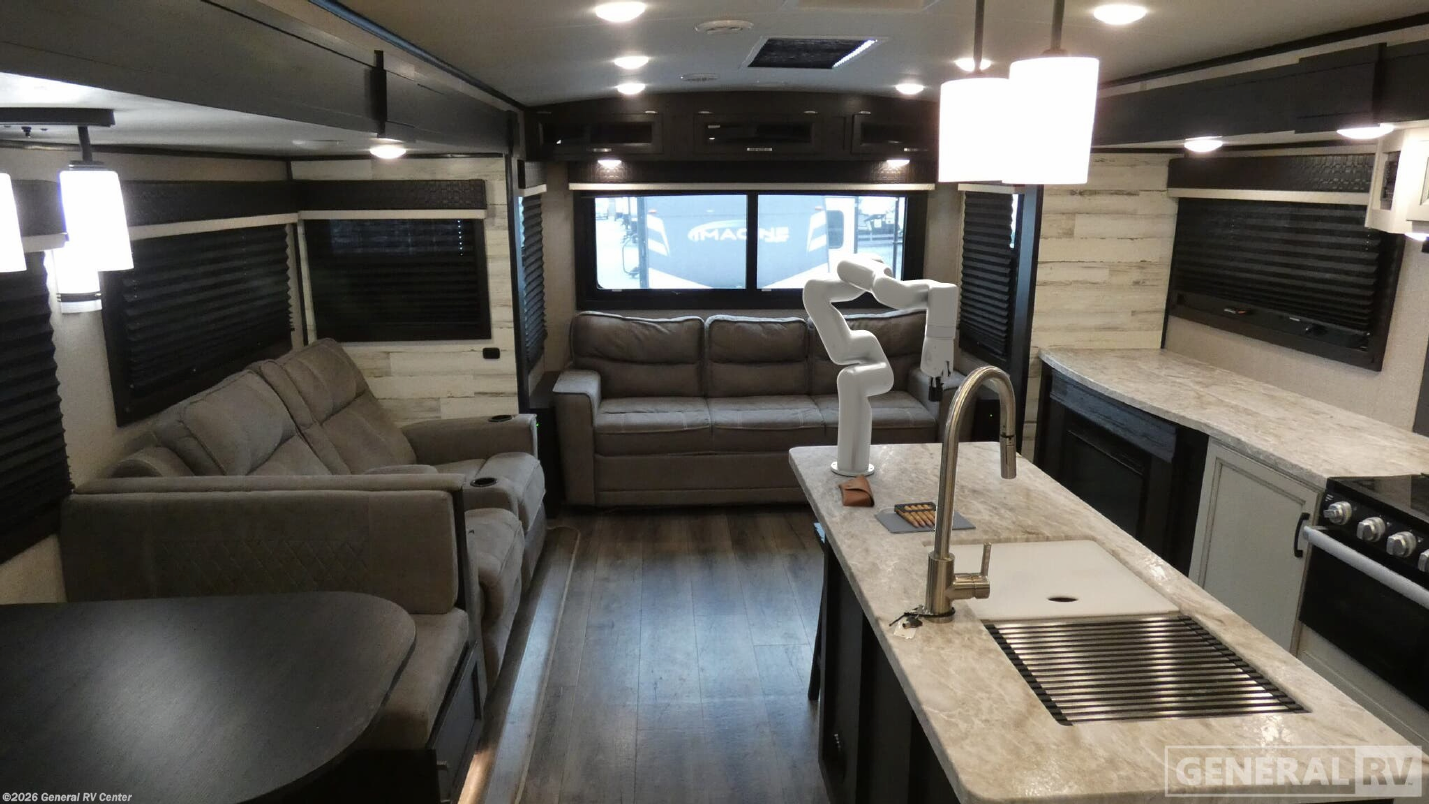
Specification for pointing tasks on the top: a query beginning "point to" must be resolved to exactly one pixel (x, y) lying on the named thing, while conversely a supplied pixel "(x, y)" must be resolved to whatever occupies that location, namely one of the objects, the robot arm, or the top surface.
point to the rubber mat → (902, 525)
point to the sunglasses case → (857, 492)
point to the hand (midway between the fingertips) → (934, 400)
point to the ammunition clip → (917, 513)
